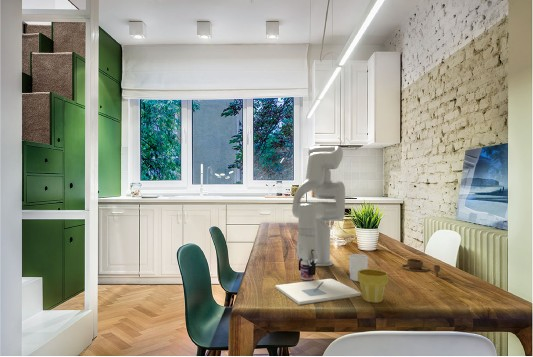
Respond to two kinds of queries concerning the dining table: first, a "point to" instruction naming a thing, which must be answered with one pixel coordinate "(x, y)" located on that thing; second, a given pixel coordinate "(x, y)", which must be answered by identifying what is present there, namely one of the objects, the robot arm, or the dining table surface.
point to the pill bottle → (305, 270)
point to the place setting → (418, 266)
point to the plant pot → (372, 284)
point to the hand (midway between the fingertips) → (306, 272)
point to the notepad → (316, 291)
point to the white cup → (357, 265)
